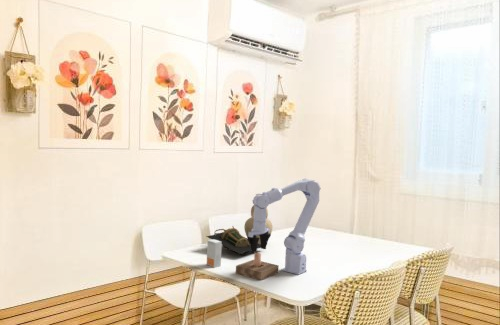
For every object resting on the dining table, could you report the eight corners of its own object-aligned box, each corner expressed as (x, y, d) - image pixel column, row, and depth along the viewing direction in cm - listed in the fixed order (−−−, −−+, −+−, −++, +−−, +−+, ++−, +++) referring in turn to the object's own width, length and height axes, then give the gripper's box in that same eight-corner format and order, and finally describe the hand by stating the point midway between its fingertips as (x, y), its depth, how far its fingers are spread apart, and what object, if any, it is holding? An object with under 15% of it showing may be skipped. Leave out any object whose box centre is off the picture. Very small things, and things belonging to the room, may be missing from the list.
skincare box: (206, 264, 191) (207, 240, 190) (213, 263, 194) (214, 239, 193) (214, 267, 186) (215, 242, 186) (221, 266, 189) (222, 241, 189)
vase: (277, 246, 234) (279, 195, 233) (254, 249, 224) (256, 196, 223) (260, 240, 247) (262, 192, 246) (238, 242, 238) (240, 193, 237)
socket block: (278, 272, 183) (278, 265, 183) (261, 280, 171) (261, 272, 171) (253, 266, 191) (253, 259, 191) (235, 273, 180) (236, 265, 179)
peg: (261, 273, 181) (262, 253, 181) (257, 274, 179) (258, 254, 179) (256, 271, 183) (257, 252, 183) (252, 273, 181) (253, 253, 181)
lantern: (235, 266, 203) (195, 241, 219) (259, 261, 221) (221, 238, 238) (243, 242, 201) (202, 218, 218) (267, 239, 220) (228, 217, 237)
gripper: (261, 217, 189) (260, 245, 190) (243, 221, 178) (242, 251, 178) (273, 219, 185) (272, 248, 186) (256, 223, 173) (255, 254, 174)
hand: (258, 250), depth 182 cm, fingers open, 7 cm apart
